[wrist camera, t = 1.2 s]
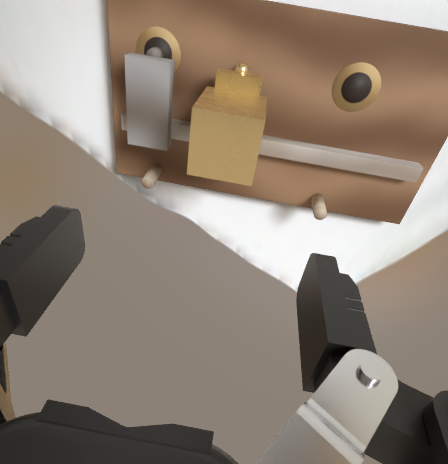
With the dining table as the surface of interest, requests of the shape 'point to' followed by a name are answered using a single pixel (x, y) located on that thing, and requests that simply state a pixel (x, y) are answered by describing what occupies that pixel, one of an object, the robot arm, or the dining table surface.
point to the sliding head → (228, 127)
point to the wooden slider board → (285, 99)
